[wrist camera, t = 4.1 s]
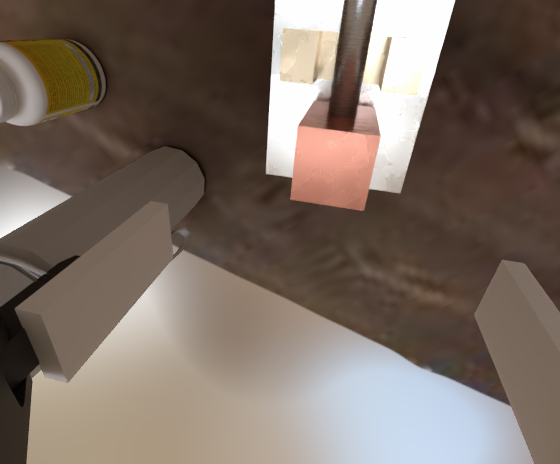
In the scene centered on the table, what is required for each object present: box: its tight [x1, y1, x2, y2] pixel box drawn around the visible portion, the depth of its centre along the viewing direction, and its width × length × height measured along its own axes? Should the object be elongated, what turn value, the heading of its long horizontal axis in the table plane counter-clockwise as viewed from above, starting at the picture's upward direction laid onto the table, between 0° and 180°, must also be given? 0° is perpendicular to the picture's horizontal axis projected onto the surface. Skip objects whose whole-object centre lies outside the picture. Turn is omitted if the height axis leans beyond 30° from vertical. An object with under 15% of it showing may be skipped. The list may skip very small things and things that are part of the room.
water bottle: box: [0, 146, 205, 378], centre depth 27 cm, size 9×8×25 cm
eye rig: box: [266, 0, 455, 193], centre depth 22 cm, size 26×13×12 cm, turn 176°
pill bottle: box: [0, 39, 106, 126], centre depth 29 cm, size 6×6×11 cm
